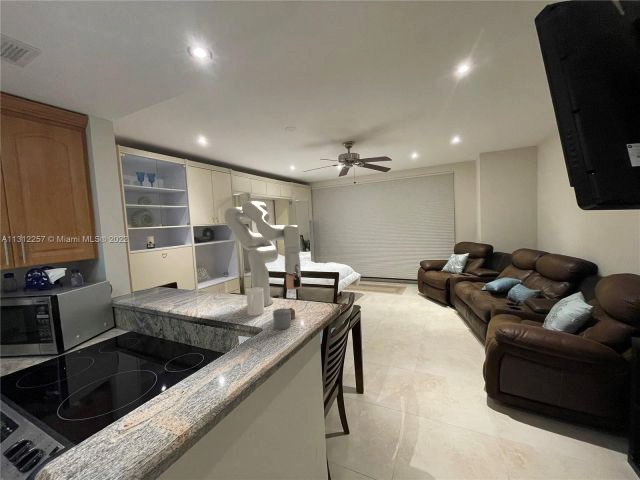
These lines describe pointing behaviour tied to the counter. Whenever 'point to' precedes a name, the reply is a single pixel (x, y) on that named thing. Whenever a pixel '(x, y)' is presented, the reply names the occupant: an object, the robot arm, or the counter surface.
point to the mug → (255, 301)
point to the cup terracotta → (291, 281)
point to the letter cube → (292, 313)
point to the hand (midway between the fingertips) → (293, 285)
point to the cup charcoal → (282, 318)
